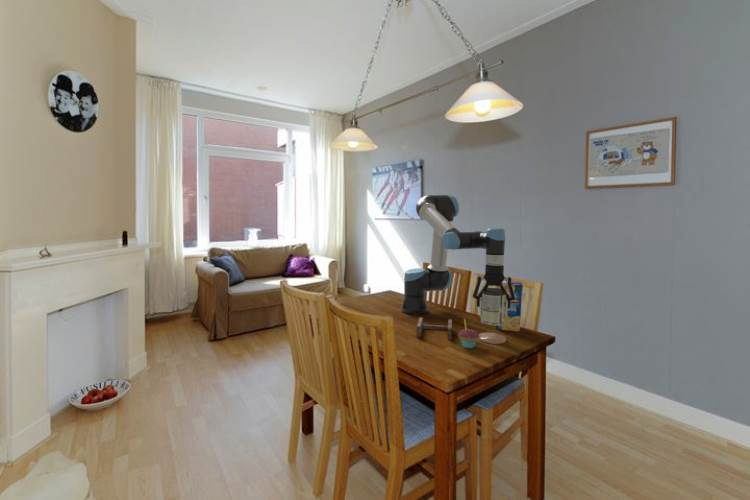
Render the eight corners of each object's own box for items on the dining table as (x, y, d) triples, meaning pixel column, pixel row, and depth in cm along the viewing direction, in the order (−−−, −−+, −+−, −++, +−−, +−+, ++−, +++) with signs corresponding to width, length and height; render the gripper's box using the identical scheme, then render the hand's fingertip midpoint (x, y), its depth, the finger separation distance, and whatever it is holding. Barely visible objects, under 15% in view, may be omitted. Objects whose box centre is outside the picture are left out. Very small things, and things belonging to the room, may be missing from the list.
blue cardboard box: (496, 324, 179) (497, 280, 177) (519, 327, 175) (522, 282, 173) (495, 328, 173) (497, 283, 170) (520, 331, 169) (522, 285, 166)
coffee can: (479, 317, 164) (480, 287, 163) (503, 319, 162) (504, 288, 161) (481, 324, 154) (482, 292, 153) (506, 326, 152) (508, 293, 151)
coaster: (476, 333, 166) (476, 331, 166) (504, 335, 164) (504, 333, 164) (478, 342, 155) (478, 341, 155) (508, 344, 152) (508, 343, 152)
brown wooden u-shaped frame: (419, 327, 175) (419, 317, 175) (451, 329, 172) (451, 319, 171) (416, 337, 161) (416, 326, 161) (451, 340, 158) (451, 328, 157)
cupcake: (458, 349, 147) (459, 320, 146) (457, 341, 156) (457, 314, 154) (480, 350, 146) (481, 321, 145) (477, 342, 155) (478, 315, 153)
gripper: (467, 264, 154) (466, 315, 157) (524, 266, 150) (522, 318, 152) (467, 262, 162) (465, 310, 164) (521, 263, 157) (518, 313, 159)
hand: (492, 314), depth 158 cm, fingers closed on coffee can, 10 cm apart
